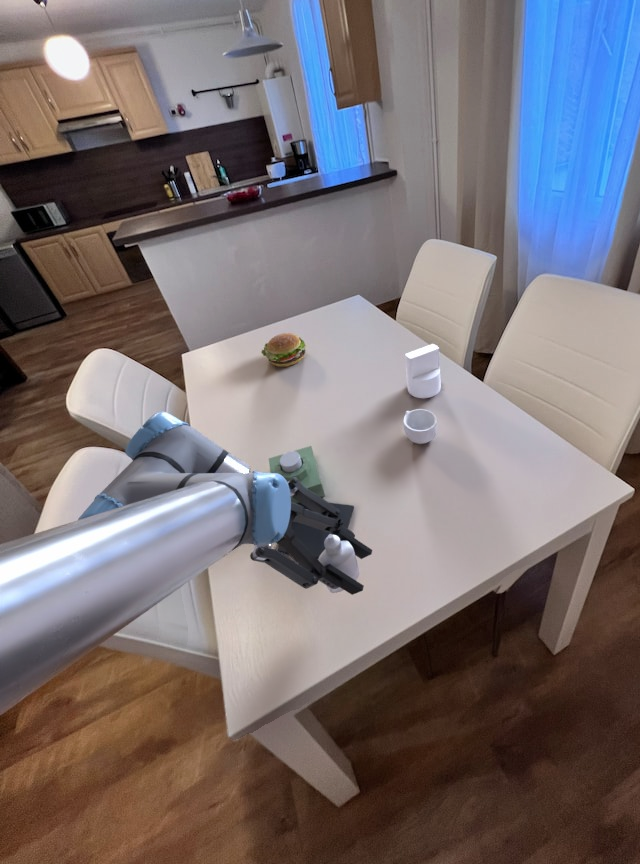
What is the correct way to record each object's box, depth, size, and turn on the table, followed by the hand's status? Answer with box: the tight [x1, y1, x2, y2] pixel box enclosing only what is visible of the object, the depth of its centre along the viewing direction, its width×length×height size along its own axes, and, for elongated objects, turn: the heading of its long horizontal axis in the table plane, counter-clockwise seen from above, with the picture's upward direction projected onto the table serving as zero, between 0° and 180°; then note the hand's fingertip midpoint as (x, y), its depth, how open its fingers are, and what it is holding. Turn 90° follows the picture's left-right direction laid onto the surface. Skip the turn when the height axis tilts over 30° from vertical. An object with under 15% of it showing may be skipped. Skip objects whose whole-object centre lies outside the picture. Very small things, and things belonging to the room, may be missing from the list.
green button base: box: [268, 445, 326, 504], centre depth 88 cm, size 12×10×6 cm
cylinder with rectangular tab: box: [404, 343, 442, 399], centre depth 107 cm, size 9×9×12 cm
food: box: [261, 332, 307, 368], centre depth 132 cm, size 14×14×8 cm
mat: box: [276, 502, 355, 559], centre depth 79 cm, size 12×12×1 cm
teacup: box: [402, 408, 438, 445], centre depth 95 cm, size 10×8×5 cm
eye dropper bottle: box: [318, 534, 361, 594], centre depth 62 cm, size 4×6×12 cm
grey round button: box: [280, 450, 302, 473], centre depth 86 cm, size 4×4×2 cm
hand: (362, 571), depth 63 cm, fingers closed on eye dropper bottle, 5 cm apart
